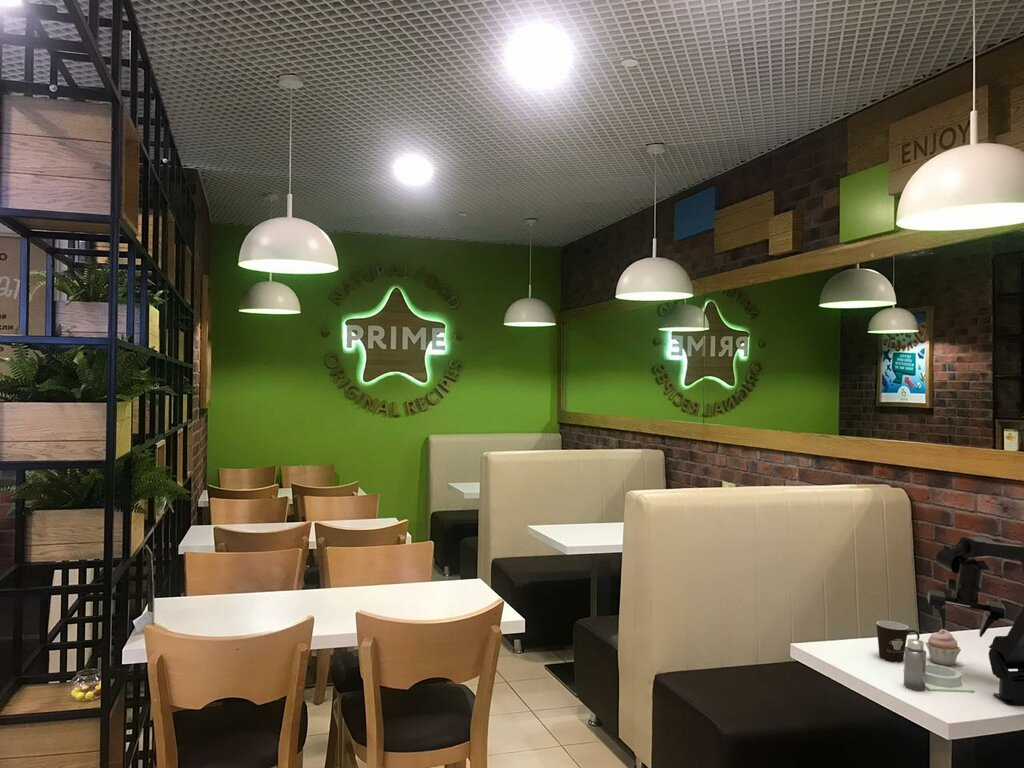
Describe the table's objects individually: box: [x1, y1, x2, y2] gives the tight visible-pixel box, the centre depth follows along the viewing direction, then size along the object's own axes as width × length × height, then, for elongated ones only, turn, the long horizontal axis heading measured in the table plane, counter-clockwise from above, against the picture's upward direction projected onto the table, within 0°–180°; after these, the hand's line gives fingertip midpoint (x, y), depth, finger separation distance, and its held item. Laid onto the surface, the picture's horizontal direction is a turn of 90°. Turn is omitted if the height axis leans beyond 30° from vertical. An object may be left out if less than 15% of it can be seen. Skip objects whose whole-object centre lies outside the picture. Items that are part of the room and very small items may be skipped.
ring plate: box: [903, 662, 975, 693], centre depth 214 cm, size 14×12×3 cm
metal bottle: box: [903, 638, 927, 692], centre depth 209 cm, size 5×5×12 cm
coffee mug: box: [876, 620, 921, 663], centre depth 231 cm, size 12×9×10 cm
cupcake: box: [924, 628, 962, 667], centre depth 230 cm, size 9×9×10 cm
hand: (961, 632), depth 220 cm, fingers open, 9 cm apart
